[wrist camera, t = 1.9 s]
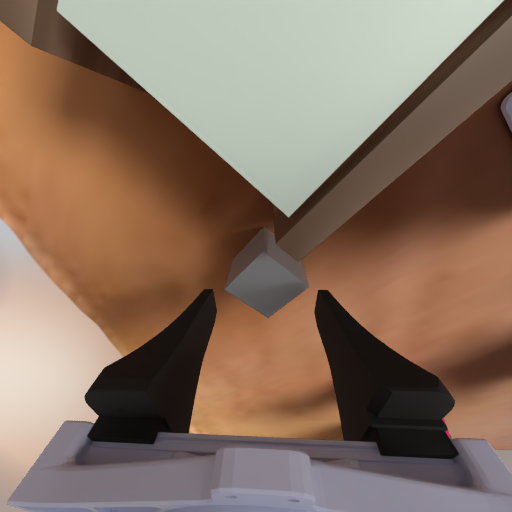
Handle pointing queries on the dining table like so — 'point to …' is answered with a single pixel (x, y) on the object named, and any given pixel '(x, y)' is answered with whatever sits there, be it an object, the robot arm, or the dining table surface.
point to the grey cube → (265, 275)
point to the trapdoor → (279, 72)
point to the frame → (369, 152)
